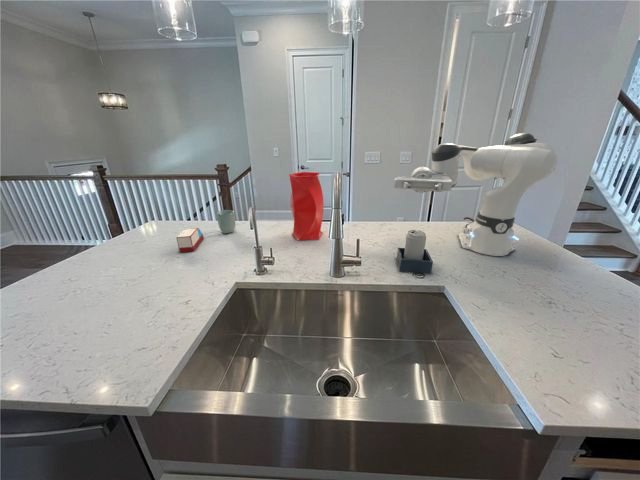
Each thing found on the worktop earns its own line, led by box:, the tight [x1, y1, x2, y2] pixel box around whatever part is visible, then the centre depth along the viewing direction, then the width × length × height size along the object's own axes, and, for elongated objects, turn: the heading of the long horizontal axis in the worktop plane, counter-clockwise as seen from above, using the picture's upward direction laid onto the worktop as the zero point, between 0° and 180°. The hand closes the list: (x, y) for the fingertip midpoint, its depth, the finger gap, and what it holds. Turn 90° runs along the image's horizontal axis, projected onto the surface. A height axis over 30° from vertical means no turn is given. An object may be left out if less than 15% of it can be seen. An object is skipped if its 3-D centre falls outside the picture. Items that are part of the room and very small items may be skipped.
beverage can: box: [403, 229, 427, 260], centre depth 90 cm, size 6×6×12 cm
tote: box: [396, 247, 434, 275], centre depth 91 cm, size 10×10×5 cm
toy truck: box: [176, 227, 204, 253], centre depth 111 cm, size 6×15×7 cm, turn 8°
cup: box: [216, 209, 237, 234], centre depth 125 cm, size 8×8×10 cm
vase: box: [288, 171, 324, 241], centre depth 115 cm, size 15×14×28 cm
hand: (422, 187), depth 91 cm, fingers open, 8 cm apart
